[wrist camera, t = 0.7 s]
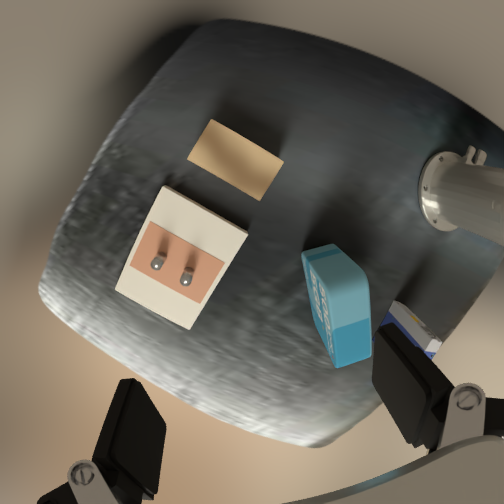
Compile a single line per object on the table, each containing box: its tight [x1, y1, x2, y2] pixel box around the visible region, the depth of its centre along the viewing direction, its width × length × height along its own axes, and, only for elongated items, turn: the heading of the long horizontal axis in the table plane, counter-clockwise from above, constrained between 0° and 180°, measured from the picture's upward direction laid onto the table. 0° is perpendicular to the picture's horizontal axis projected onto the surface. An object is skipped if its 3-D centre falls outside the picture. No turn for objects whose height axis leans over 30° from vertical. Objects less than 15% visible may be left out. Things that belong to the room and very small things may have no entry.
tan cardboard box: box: [187, 119, 284, 201], centre depth 31 cm, size 5×9×5 cm, turn 58°
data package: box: [302, 244, 372, 368], centre depth 34 cm, size 12×4×12 cm, turn 14°
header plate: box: [115, 185, 248, 330], centre depth 37 cm, size 16×12×2 cm
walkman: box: [372, 300, 442, 360], centre depth 37 cm, size 8×3×12 cm, turn 160°
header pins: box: [151, 252, 194, 286], centre depth 34 cm, size 1×5×3 cm, turn 58°
